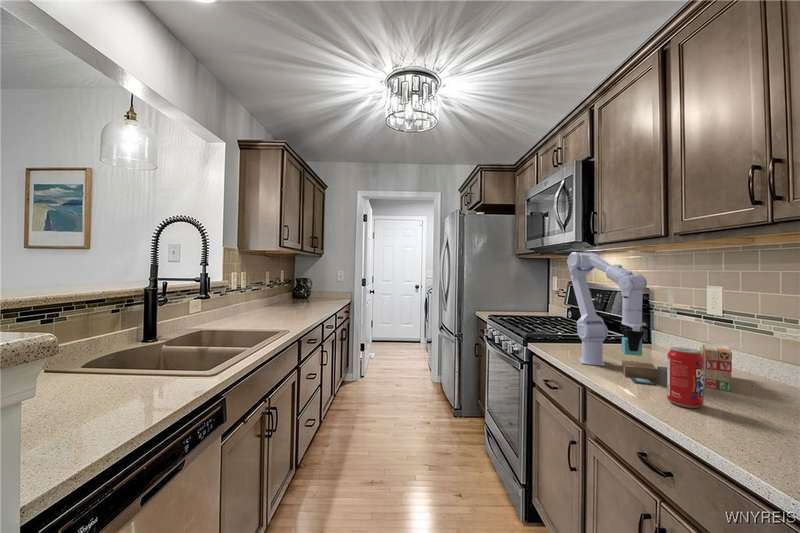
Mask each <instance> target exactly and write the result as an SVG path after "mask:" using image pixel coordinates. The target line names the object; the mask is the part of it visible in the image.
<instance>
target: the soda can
mask: <svg viewBox="0 0 800 533" xmlns="http://www.w3.org/2000/svg"><path fill="white" fill-rule="evenodd" d="M666 355H667V360H666V363H667V364H666V367H667V386H666V398H667V400H668V401H669V402H671V403H672V404H673V405H676V406H677V407H678V406H679V407H682V408H687V409H697V408H701V407H703V406H704V403H705V399H704V398H705V397H704V396H705V392H704V391H705V389H704V388H705V385H704V357H703V356H702V355H701V351H700V350H698V349H695V348H689V347H682V346H679V347H678V346H672V347H670V350H669V351H668V352H667V354H666Z"/></svg>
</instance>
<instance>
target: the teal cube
mask: <svg viewBox="0 0 800 533" xmlns="http://www.w3.org/2000/svg"><path fill="white" fill-rule="evenodd" d="M621 352H622V353H623V355H624V356H625V355H628V356H639V357H642V356H643V340H642V339H641V340H640V343H639V347H638V350H637V351H630V350H629V345H628V339H627V338H626V337H624V336H623V337H621Z"/></svg>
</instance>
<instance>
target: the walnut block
mask: <svg viewBox="0 0 800 533" xmlns="http://www.w3.org/2000/svg"><path fill="white" fill-rule="evenodd" d="M621 371H622V374H623V375H624V377H625V378H630V377H636V378H646V379H652V380H653V381H654V382H657V368H656V367H655V365H654V364H653V363H650V362H640V361H633V360H632V361H630V360H624V359H623V360H621ZM630 379H631V378H630Z"/></svg>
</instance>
